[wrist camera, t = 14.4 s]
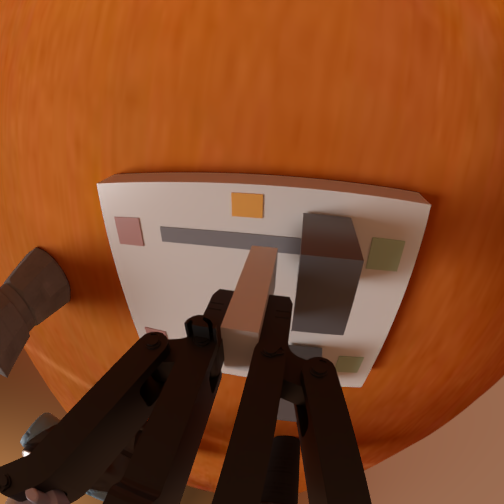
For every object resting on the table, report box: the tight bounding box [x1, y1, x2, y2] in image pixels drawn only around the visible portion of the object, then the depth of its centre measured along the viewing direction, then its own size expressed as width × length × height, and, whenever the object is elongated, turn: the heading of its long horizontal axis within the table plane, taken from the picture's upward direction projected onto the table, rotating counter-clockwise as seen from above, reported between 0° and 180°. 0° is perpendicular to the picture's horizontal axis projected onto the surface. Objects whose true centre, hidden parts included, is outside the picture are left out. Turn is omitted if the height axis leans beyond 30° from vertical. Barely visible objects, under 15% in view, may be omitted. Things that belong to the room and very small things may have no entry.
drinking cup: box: [260, 436, 300, 504], centre depth 32 cm, size 8×8×20 cm
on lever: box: [277, 345, 322, 422], centre depth 22 cm, size 3×5×5 cm, turn 0°
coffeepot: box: [0, 247, 70, 377], centre depth 23 cm, size 15×9×18 cm, turn 135°
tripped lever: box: [291, 213, 364, 335], centre depth 16 cm, size 3×5×5 cm, turn 0°
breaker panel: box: [97, 172, 431, 387], centre depth 23 cm, size 24×20×3 cm
